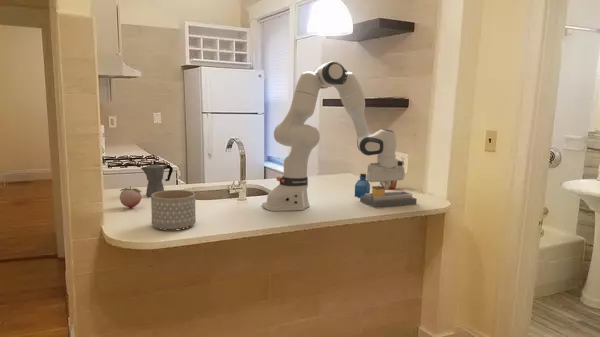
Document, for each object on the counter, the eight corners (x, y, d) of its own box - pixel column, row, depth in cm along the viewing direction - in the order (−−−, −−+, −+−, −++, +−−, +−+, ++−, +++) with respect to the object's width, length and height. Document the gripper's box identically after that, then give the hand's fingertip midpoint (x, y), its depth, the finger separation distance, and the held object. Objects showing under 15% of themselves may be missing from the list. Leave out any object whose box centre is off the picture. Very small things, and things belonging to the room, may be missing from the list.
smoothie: (379, 187, 261) (381, 154, 258) (391, 186, 265) (393, 153, 262) (388, 190, 254) (390, 155, 251) (400, 189, 258) (402, 155, 255)
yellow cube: (377, 198, 216) (377, 188, 215) (371, 196, 221) (371, 186, 220) (384, 198, 218) (385, 187, 217) (378, 196, 223) (379, 185, 222)
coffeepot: (143, 198, 218) (141, 162, 215) (140, 195, 226) (139, 160, 223) (175, 196, 225) (174, 161, 222) (171, 192, 233) (170, 158, 230)
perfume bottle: (354, 196, 236) (355, 174, 234) (358, 194, 241) (359, 172, 239) (365, 198, 233) (366, 175, 231) (369, 195, 238) (370, 173, 236)
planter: (160, 234, 163) (159, 200, 161) (146, 223, 176) (145, 192, 174) (202, 228, 172) (202, 195, 170) (186, 218, 185) (185, 188, 183)
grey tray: (375, 208, 211) (375, 198, 210) (359, 201, 224) (360, 192, 223) (416, 204, 221) (416, 195, 220) (399, 198, 233) (399, 189, 233)
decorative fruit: (117, 210, 194) (117, 188, 193) (121, 206, 202) (120, 184, 201) (140, 210, 196) (139, 188, 194) (143, 206, 204) (142, 184, 202)
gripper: (371, 164, 211) (370, 192, 213) (406, 162, 219) (405, 189, 221) (364, 162, 217) (363, 190, 219) (399, 160, 225) (397, 187, 227)
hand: (384, 189), depth 220 cm, fingers closed
